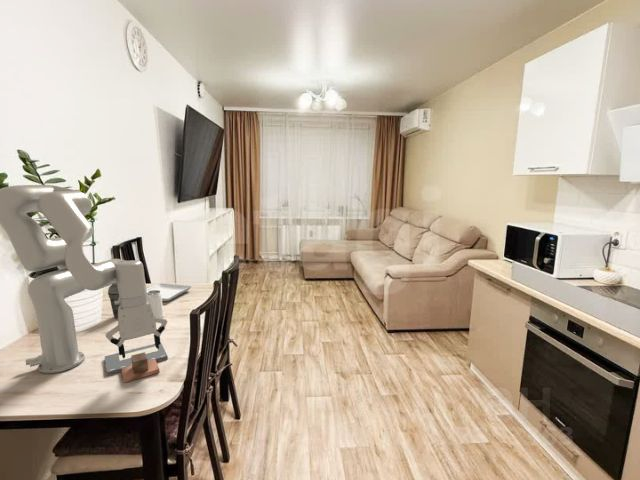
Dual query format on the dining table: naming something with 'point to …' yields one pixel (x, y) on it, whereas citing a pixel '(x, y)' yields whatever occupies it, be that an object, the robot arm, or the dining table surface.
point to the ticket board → (118, 362)
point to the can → (156, 302)
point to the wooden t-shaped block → (139, 368)
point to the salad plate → (169, 290)
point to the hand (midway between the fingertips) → (140, 351)
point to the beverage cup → (114, 298)
